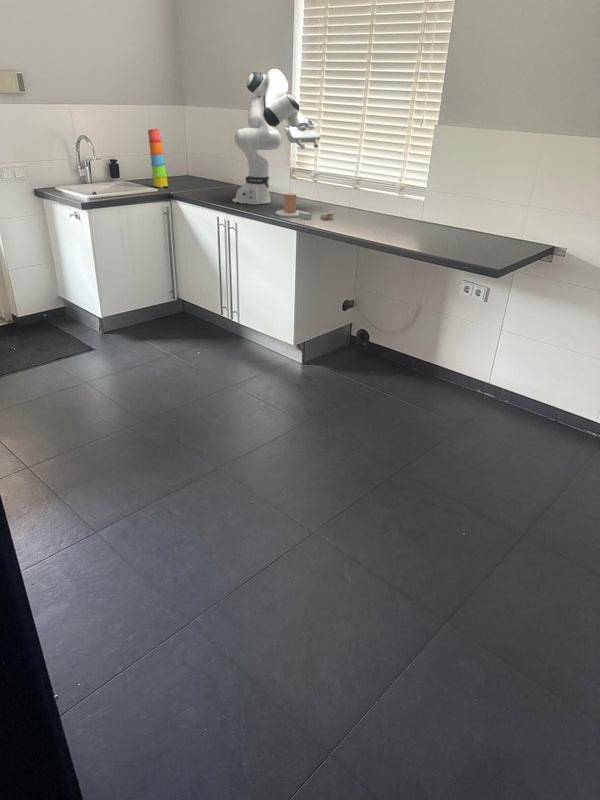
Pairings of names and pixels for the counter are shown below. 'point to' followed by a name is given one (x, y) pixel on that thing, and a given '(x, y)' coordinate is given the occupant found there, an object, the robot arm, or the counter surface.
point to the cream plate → (284, 214)
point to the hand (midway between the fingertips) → (310, 147)
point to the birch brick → (326, 216)
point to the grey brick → (305, 215)
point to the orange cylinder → (290, 203)
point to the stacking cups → (157, 158)
